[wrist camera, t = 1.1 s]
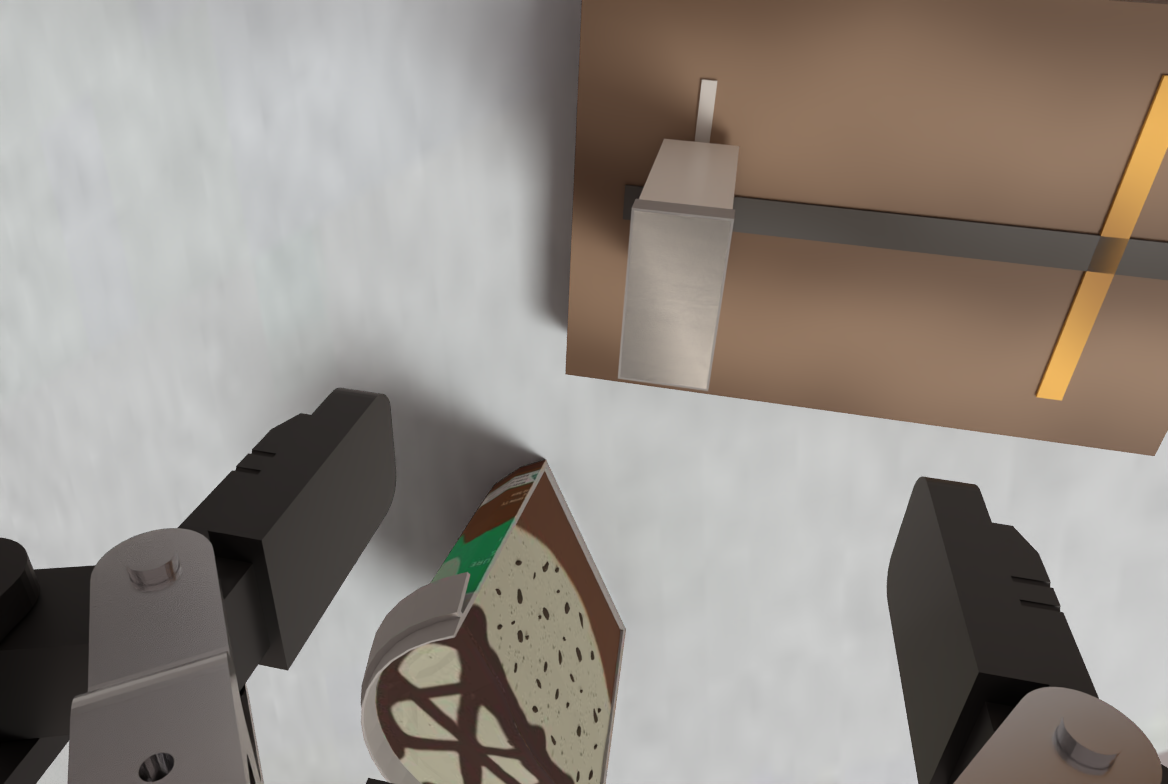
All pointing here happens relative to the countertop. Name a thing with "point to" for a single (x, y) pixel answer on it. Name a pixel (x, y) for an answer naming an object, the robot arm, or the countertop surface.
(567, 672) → the food container
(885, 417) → the fader console
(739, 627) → the countertop surface
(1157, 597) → the countertop surface
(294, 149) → the countertop surface
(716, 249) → the fader tab
